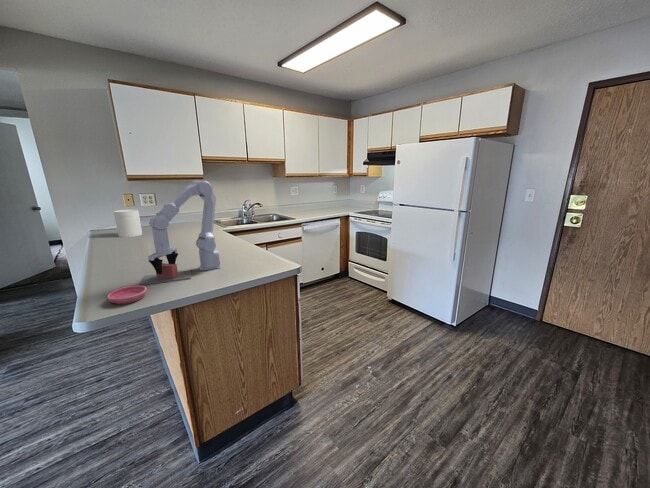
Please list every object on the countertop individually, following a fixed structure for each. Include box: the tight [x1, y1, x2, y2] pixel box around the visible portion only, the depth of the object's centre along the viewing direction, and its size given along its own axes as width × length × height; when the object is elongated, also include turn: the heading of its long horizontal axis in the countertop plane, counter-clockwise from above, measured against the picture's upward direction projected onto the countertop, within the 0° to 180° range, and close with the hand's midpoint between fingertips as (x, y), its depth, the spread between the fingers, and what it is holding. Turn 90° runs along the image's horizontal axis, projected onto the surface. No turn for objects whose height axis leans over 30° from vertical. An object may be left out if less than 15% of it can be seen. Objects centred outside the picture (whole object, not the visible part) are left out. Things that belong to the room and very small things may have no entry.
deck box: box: [155, 262, 179, 279], centre depth 122 cm, size 3×9×6 cm, turn 79°
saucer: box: [106, 284, 148, 305], centre depth 102 cm, size 12×12×3 cm
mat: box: [138, 269, 192, 286], centre depth 123 cm, size 20×12×1 cm, turn 114°
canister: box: [113, 209, 143, 238], centre depth 213 cm, size 16×16×20 cm
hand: (166, 270), depth 122 cm, fingers open, 7 cm apart
